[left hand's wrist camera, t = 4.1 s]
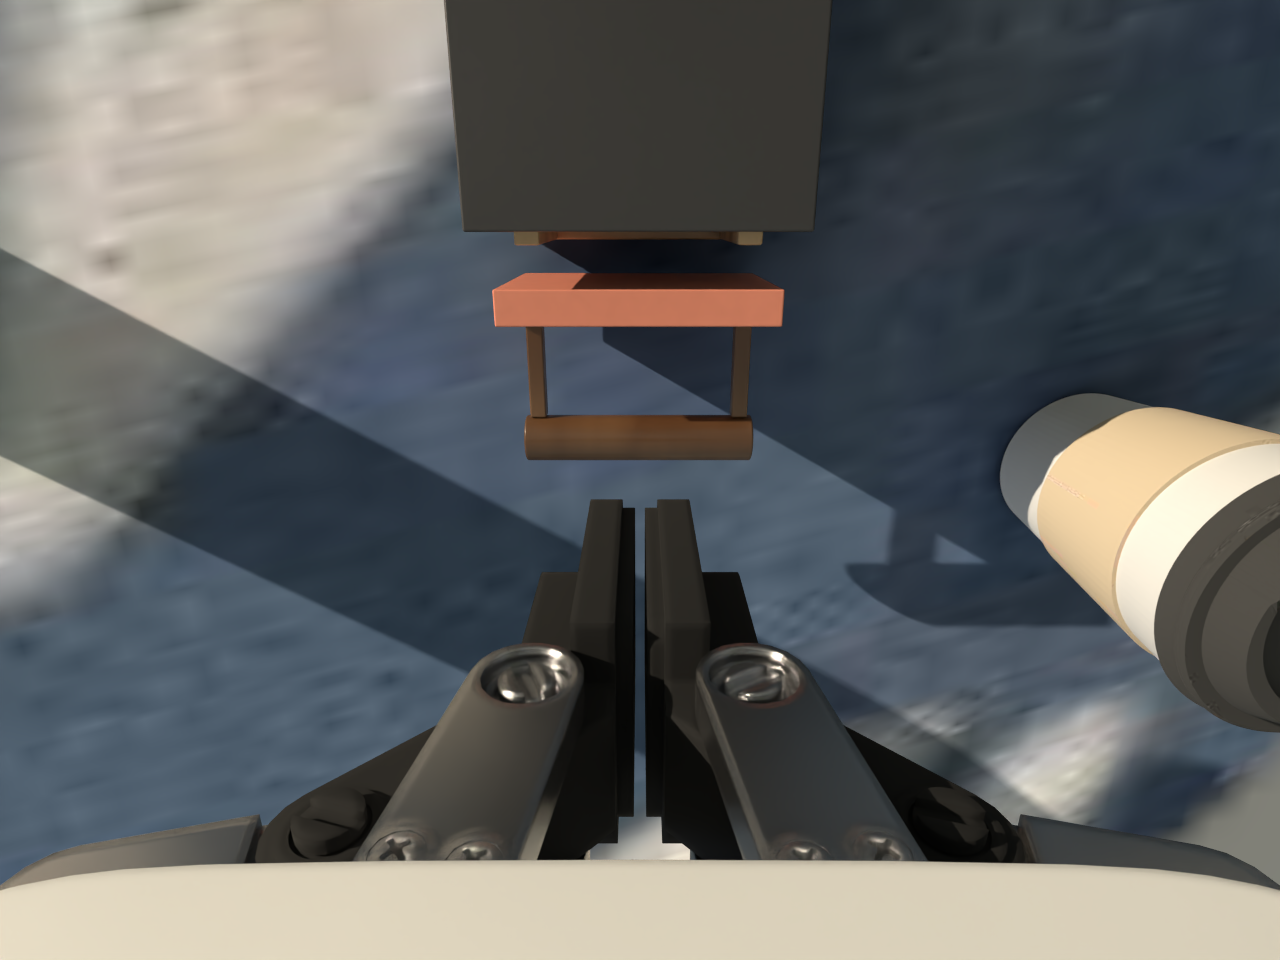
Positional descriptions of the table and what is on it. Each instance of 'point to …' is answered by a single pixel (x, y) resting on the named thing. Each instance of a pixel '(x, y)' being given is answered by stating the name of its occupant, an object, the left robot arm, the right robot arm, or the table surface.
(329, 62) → the table surface
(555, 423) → the drawer
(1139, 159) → the table surface
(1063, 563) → the coffee cup
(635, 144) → the drawer box casing
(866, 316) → the table surface
